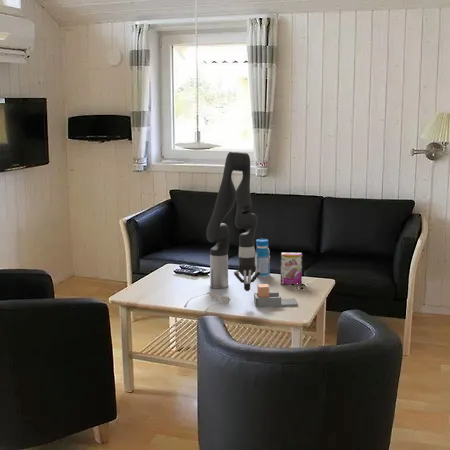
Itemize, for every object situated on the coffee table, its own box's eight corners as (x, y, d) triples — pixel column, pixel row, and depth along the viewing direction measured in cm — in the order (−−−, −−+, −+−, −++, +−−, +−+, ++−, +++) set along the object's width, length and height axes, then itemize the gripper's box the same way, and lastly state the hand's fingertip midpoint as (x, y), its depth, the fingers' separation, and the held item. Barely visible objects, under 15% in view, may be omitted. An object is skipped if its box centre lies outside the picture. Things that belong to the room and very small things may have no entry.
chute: (256, 307, 316) (256, 298, 315) (254, 301, 325) (253, 292, 324) (298, 306, 318) (298, 296, 317) (294, 300, 326) (294, 291, 326)
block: (258, 303, 318) (258, 287, 317) (257, 300, 323) (257, 284, 321) (269, 303, 318) (269, 286, 317) (267, 299, 323) (267, 283, 322)
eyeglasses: (231, 305, 321) (231, 297, 321) (204, 314, 309) (204, 306, 308) (209, 299, 332) (209, 291, 331) (182, 307, 319) (181, 299, 319)
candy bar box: (280, 284, 353) (280, 254, 349) (280, 282, 357) (280, 252, 354) (301, 285, 352) (302, 254, 348) (301, 282, 356) (302, 252, 353)
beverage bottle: (262, 278, 365) (261, 242, 361) (251, 275, 372) (251, 239, 368) (273, 275, 371) (273, 240, 367) (263, 272, 377) (262, 237, 373)
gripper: (233, 257, 312) (234, 293, 315) (261, 256, 312) (262, 292, 316) (232, 254, 319) (232, 289, 322) (259, 252, 320) (260, 287, 323)
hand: (247, 290), depth 319 cm, fingers closed
